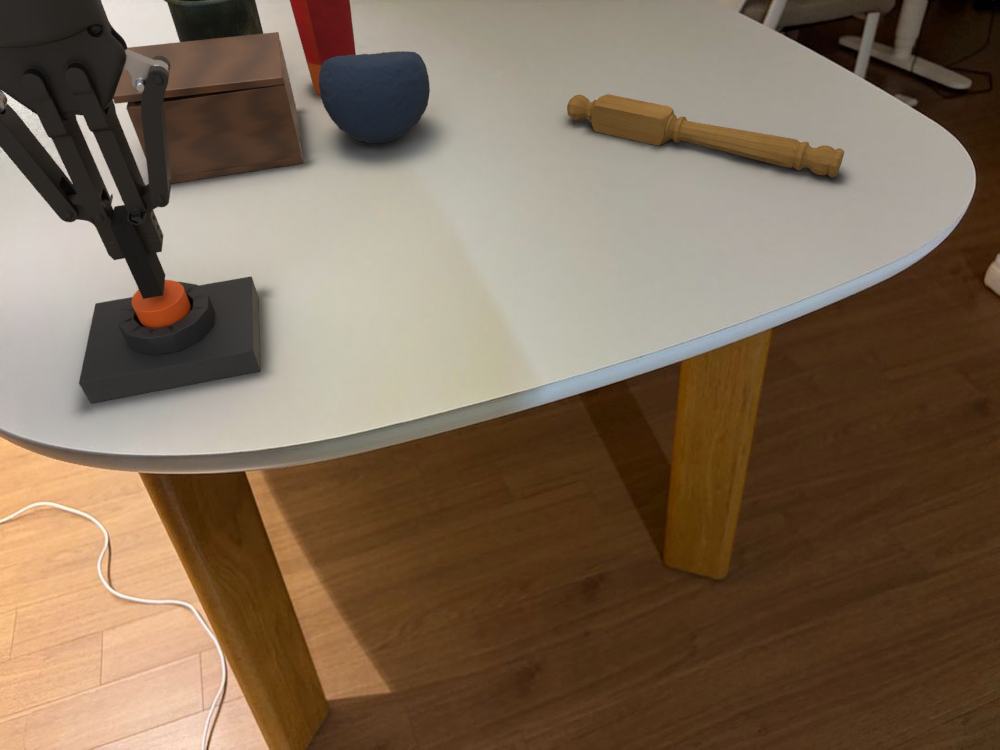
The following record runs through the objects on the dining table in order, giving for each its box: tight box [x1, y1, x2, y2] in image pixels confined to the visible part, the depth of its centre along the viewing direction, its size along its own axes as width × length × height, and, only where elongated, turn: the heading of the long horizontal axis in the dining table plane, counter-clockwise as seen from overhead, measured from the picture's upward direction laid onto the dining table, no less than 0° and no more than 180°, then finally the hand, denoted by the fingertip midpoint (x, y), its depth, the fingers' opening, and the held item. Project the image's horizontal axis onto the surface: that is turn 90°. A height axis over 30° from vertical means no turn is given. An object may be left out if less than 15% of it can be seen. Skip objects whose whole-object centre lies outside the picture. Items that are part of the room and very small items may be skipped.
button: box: [131, 279, 191, 328], centre depth 63 cm, size 4×4×2 cm
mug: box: [163, 0, 264, 42], centre depth 100 cm, size 11×15×12 cm
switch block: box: [78, 276, 261, 404], centre depth 65 cm, size 13×10×4 cm
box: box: [125, 40, 304, 185], centre depth 88 cm, size 16×13×9 cm
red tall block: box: [289, 0, 357, 96], centre depth 96 cm, size 8×8×14 cm
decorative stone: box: [319, 50, 431, 145], centre depth 88 cm, size 12×12×10 cm
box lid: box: [113, 31, 284, 105], centre depth 84 cm, size 16×13×1 cm
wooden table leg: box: [566, 93, 845, 179], centre depth 85 cm, size 3×3×30 cm
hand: (154, 286), depth 62 cm, fingers closed
